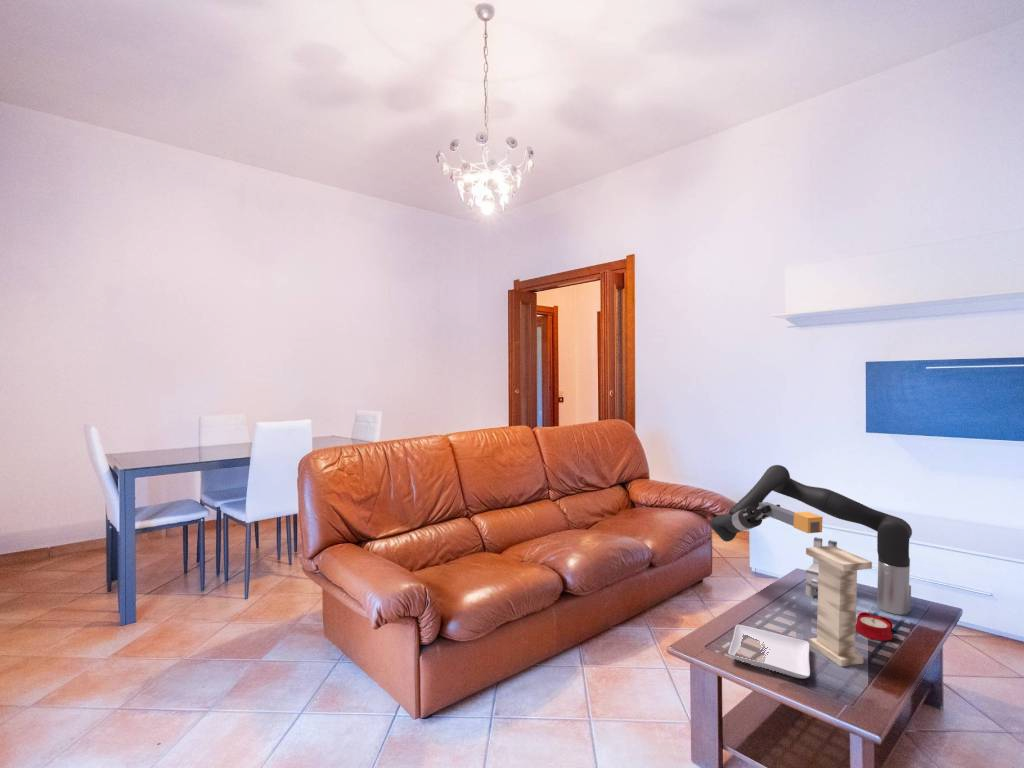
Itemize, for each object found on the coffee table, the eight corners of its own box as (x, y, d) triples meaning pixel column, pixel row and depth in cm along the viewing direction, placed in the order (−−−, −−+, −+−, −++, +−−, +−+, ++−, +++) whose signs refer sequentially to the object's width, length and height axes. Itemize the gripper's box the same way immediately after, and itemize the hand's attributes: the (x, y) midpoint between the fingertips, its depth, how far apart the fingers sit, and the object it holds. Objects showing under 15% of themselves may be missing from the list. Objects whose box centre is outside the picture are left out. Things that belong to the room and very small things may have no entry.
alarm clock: (852, 624, 167) (857, 599, 178) (852, 641, 168) (857, 614, 179) (891, 635, 160) (894, 608, 172) (891, 652, 162) (894, 624, 173)
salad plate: (809, 650, 158) (809, 640, 158) (809, 687, 140) (810, 675, 140) (735, 632, 169) (736, 622, 169) (727, 664, 151) (727, 653, 151)
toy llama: (803, 597, 194) (804, 546, 194) (815, 584, 207) (817, 535, 206) (825, 604, 189) (827, 551, 188) (837, 589, 201) (838, 540, 201)
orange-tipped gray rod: (769, 511, 188) (769, 498, 187) (822, 532, 164) (822, 517, 164) (756, 512, 186) (756, 498, 186) (807, 533, 163) (808, 518, 163)
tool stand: (830, 640, 164) (832, 545, 163) (869, 664, 150) (871, 561, 149) (803, 643, 162) (806, 547, 161) (841, 668, 148) (843, 564, 147)
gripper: (727, 510, 196) (754, 498, 181) (759, 508, 199) (788, 496, 184) (733, 529, 193) (761, 519, 178) (765, 527, 196) (795, 516, 181)
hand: (774, 507), depth 181 cm, fingers closed on orange-tipped gray rod, 3 cm apart
